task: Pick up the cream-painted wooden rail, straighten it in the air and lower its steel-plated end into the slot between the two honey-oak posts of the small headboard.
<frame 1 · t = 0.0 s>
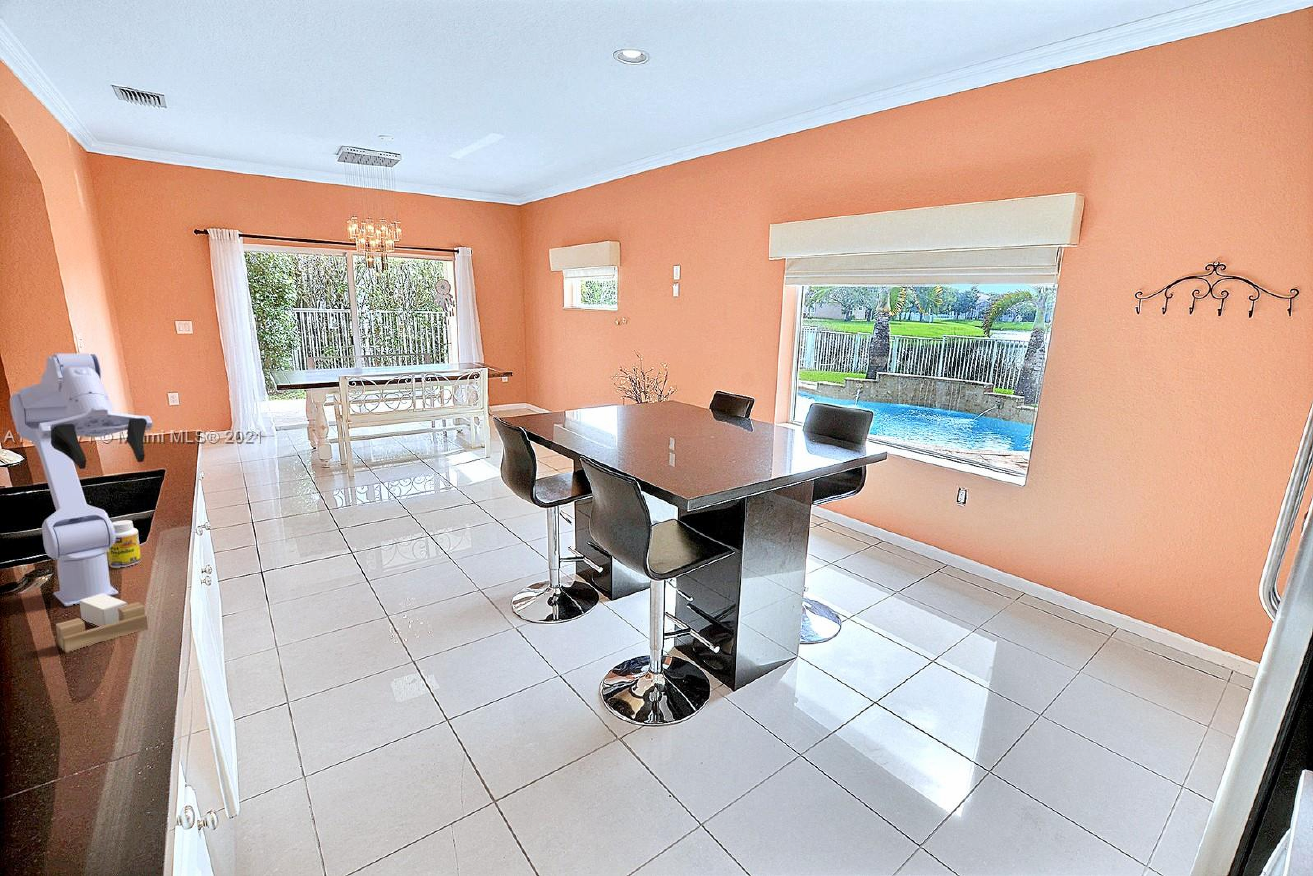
hand: (113, 461, 102), 32 cm above the worktop, tool tilted 50°, fingers open, 7 cm apart
headboard: (104, 635, 107), on the worktop
supplement bottle: (125, 565, 139), on the worktop
rail: (104, 620, 113), on the worktop
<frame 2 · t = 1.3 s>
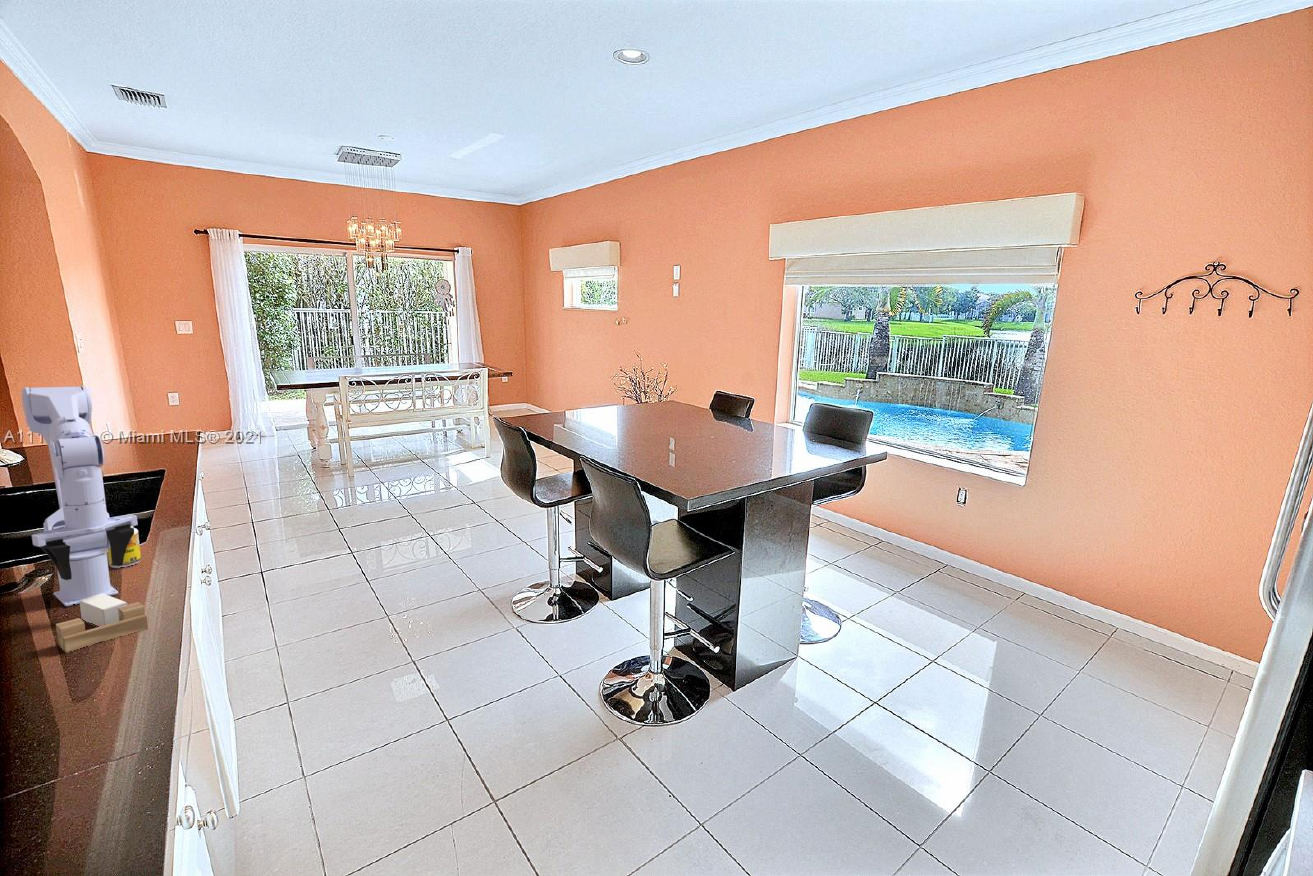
hand: (92, 571, 112), 9 cm above the worktop, tool pointing down, fingers open, 7 cm apart
nothing on the worktop moved.
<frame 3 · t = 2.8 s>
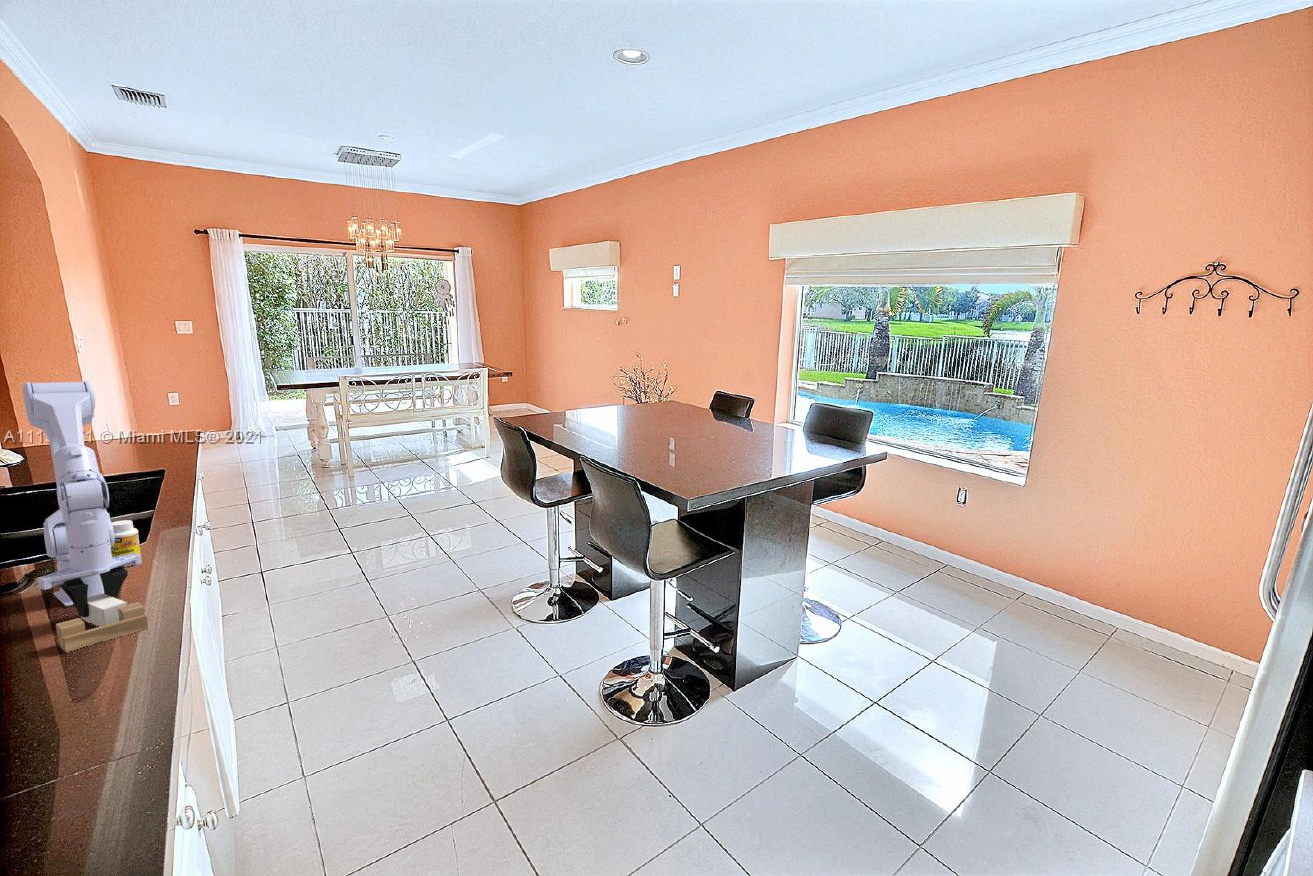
hand: (97, 611, 113), 1 cm above the worktop, tool pointing down, fingers closed on rail, 3 cm apart
rail: (104, 620, 113), on the worktop, touching gripper
everything else where it was.
when the fingers open (3 cm above the worktop, at t = 5.5 s): rail stays where it is, on the worktop.
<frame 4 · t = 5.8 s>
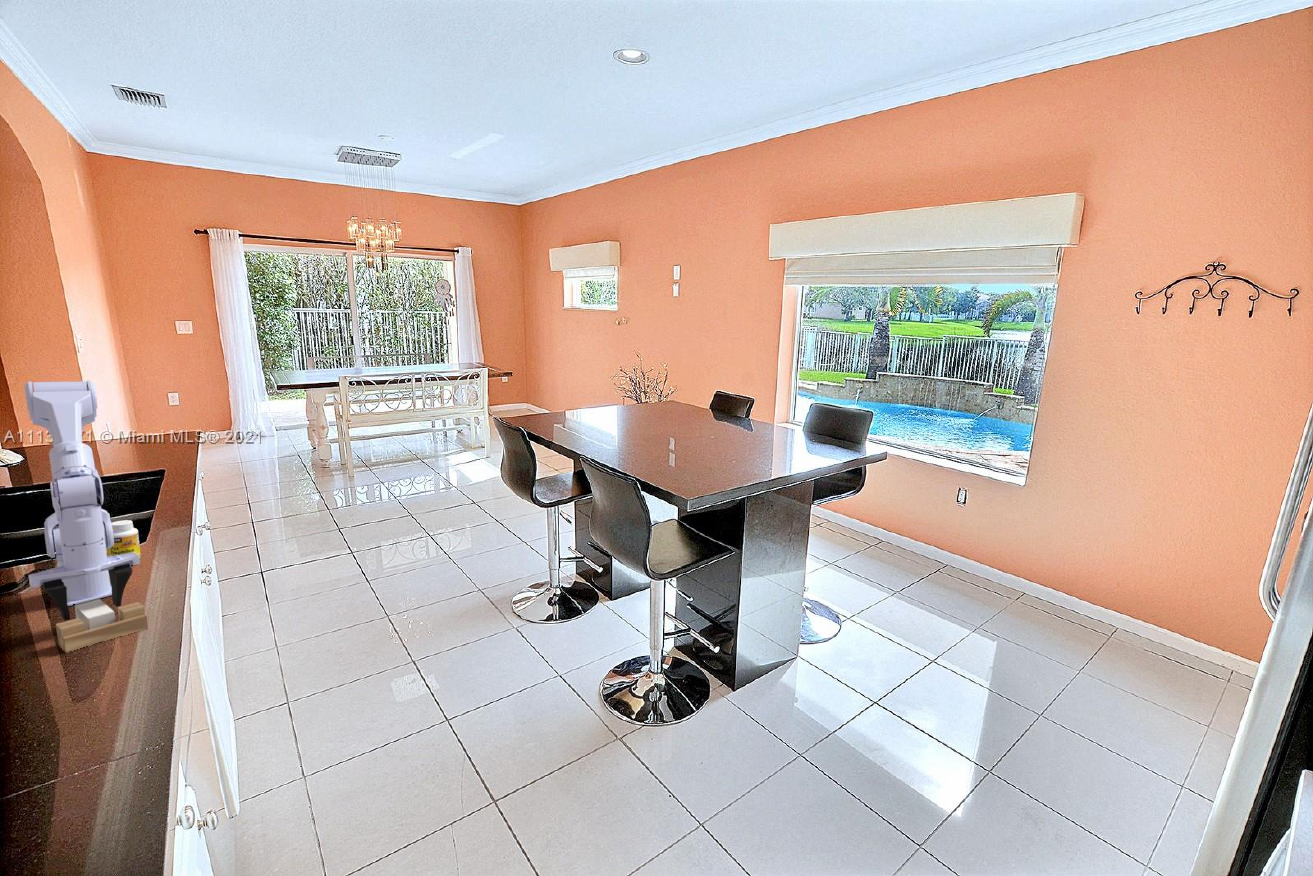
hand: (92, 611, 110), 3 cm above the worktop, tool pointing down, fingers open, 6 cm apart
rail: (96, 628, 110), on the worktop
everything else where it was.
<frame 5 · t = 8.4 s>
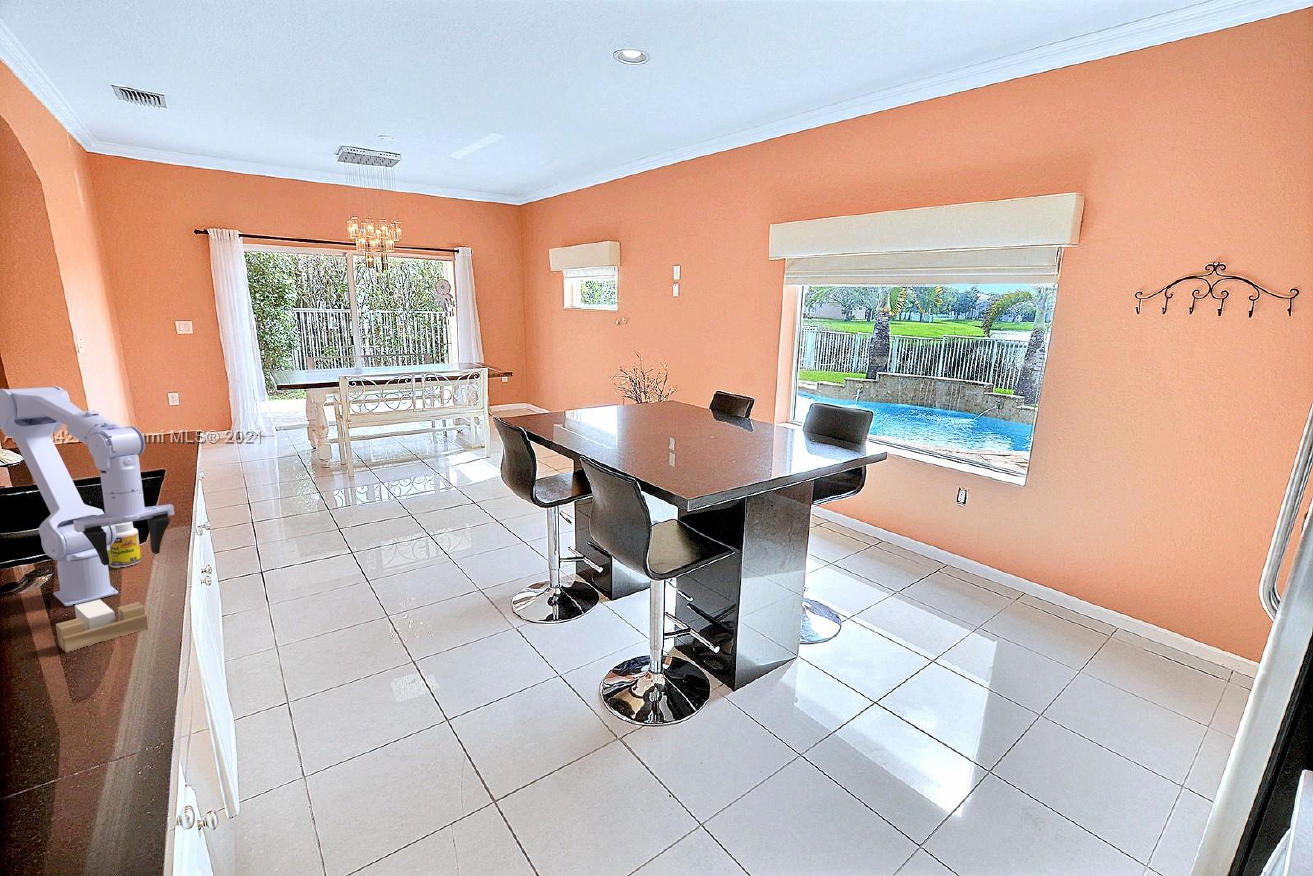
hand: (131, 558, 116), 10 cm above the worktop, tool pointing down, fingers open, 7 cm apart
nothing on the worktop moved.
at the end: rail 0.0 cm from the target spot on the worktop beside the headboard, on the worktop; rail tilted 0°; the gripper is holding nothing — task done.
